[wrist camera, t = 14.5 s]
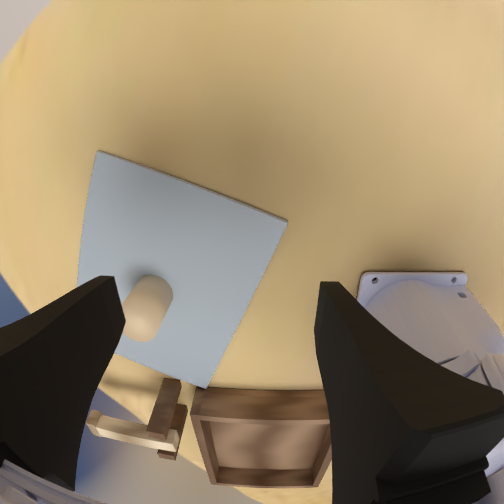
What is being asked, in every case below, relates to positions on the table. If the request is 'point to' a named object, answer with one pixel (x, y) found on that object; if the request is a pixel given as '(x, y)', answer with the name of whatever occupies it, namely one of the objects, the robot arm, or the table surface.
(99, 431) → the bar
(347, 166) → the table surface
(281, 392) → the wooden tray
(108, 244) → the lid
